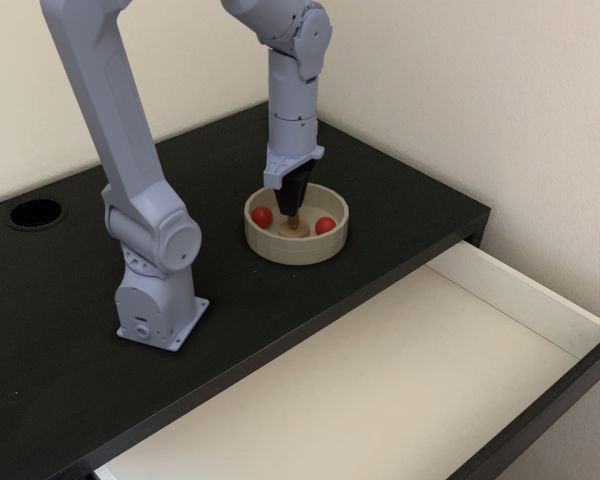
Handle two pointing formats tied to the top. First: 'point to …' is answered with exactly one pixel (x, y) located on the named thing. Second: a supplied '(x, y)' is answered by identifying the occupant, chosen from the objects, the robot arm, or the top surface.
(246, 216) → the bowl
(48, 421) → the top surface
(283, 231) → the wooden peg stand
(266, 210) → the tomato
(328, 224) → the tomato
